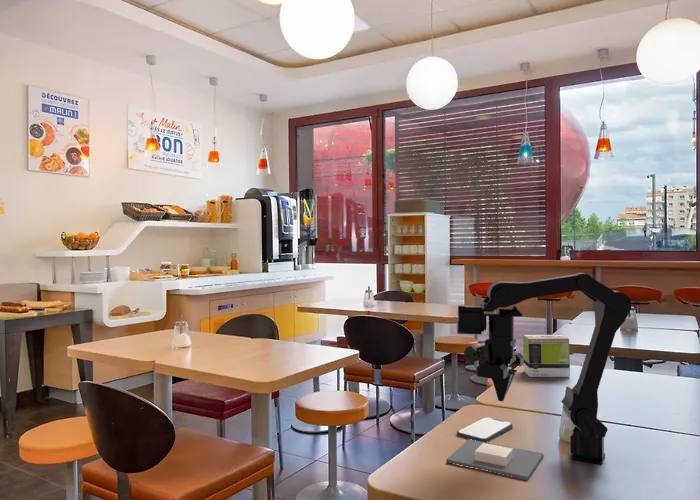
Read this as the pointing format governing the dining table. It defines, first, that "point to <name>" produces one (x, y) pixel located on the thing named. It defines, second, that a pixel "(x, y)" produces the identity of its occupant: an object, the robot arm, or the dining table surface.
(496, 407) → the dining table surface
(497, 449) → the block
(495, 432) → the phone case
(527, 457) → the mat
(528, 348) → the tea box
